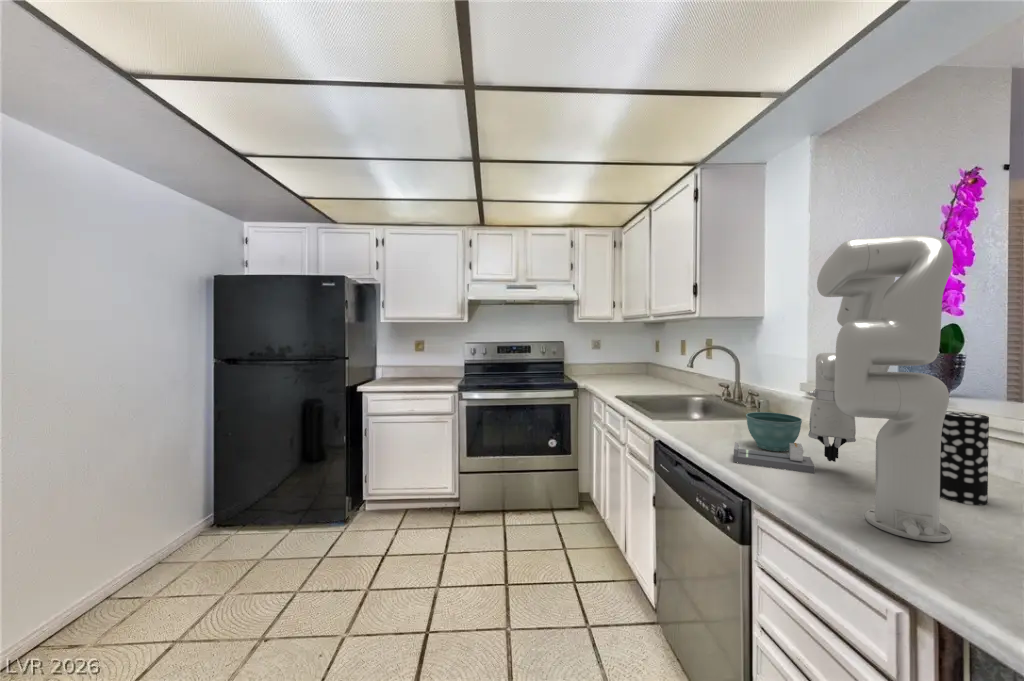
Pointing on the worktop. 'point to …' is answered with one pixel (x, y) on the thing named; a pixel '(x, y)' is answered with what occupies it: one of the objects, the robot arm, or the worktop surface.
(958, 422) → the white-spotted black cylinder
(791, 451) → the fader knob
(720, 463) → the worktop surface
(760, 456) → the fader console
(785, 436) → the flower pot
